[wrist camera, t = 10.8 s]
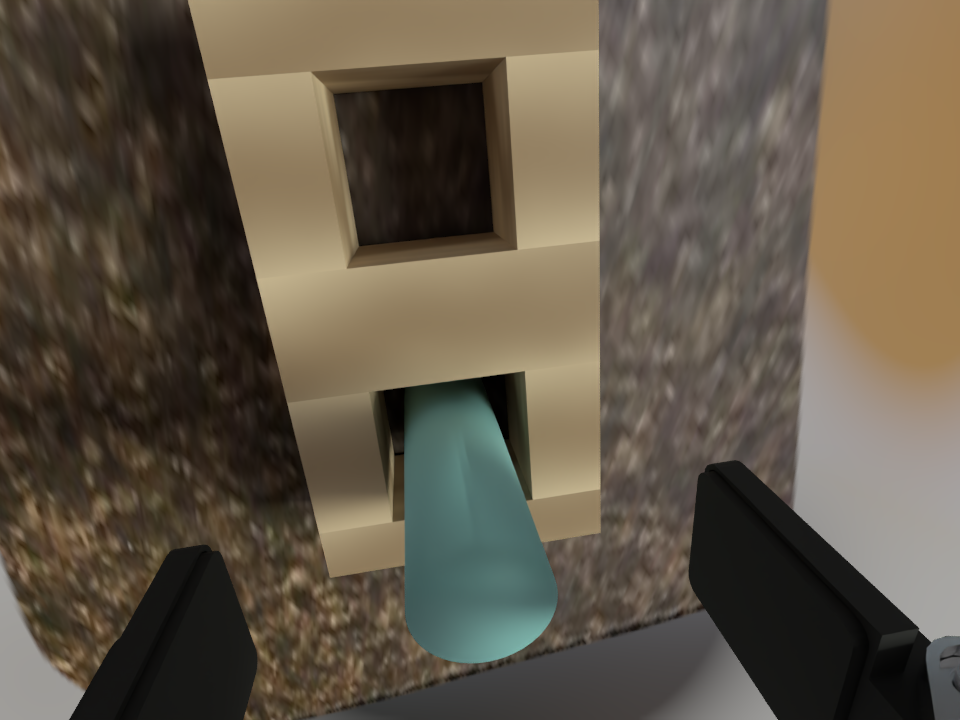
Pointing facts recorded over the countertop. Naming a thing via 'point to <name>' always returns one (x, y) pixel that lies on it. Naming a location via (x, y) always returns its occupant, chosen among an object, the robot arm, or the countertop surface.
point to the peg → (468, 531)
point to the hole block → (420, 244)
